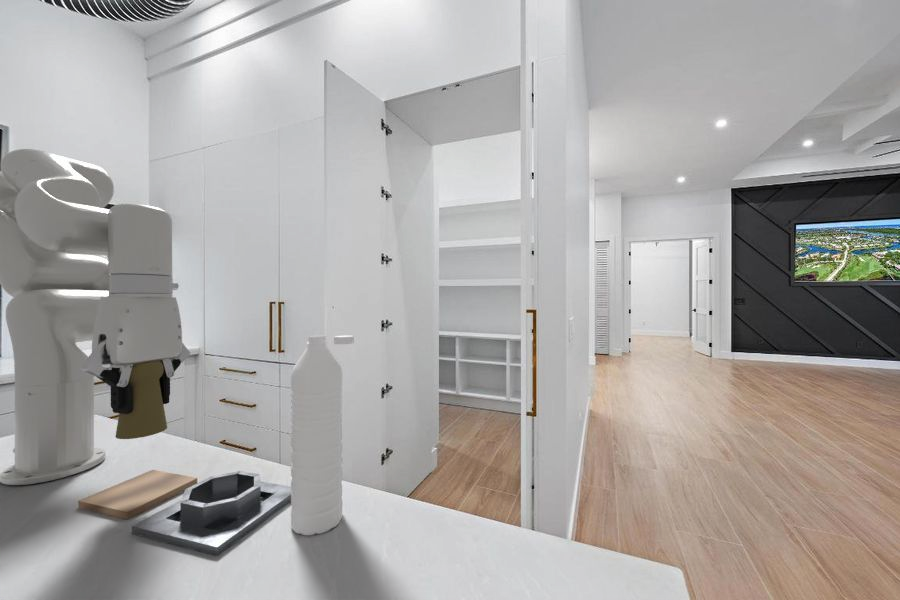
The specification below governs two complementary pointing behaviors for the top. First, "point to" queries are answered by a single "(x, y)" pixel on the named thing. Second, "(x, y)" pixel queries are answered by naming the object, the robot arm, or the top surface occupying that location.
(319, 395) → the water bottle
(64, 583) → the top surface
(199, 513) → the grey octagonal holder
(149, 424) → the cork
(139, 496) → the coaster board
